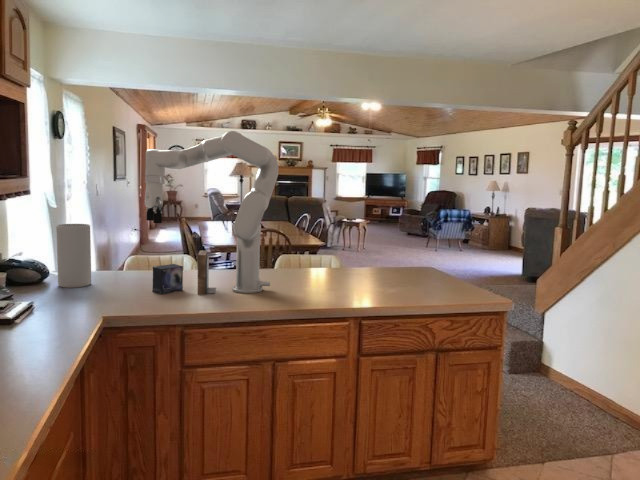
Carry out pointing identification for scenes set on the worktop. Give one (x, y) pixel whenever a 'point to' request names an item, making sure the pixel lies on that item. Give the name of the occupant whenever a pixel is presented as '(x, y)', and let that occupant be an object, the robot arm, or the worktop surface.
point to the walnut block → (201, 271)
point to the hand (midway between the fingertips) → (153, 221)
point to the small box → (167, 278)
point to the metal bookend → (207, 289)
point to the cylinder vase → (73, 255)
